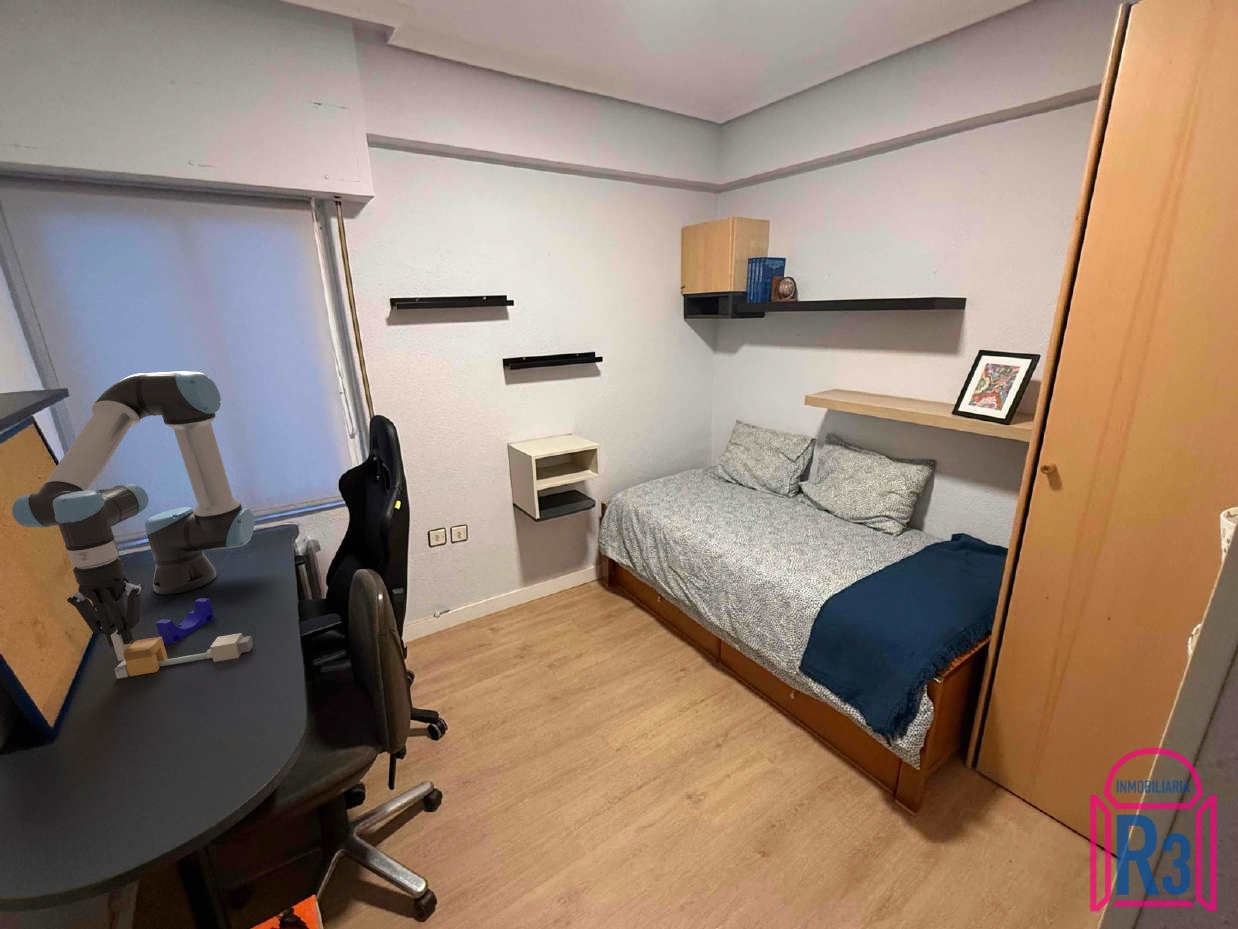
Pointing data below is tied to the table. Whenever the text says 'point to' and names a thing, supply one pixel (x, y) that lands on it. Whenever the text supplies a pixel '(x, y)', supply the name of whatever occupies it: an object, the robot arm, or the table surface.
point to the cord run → (218, 651)
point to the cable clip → (186, 622)
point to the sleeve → (145, 656)
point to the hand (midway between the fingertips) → (125, 656)
